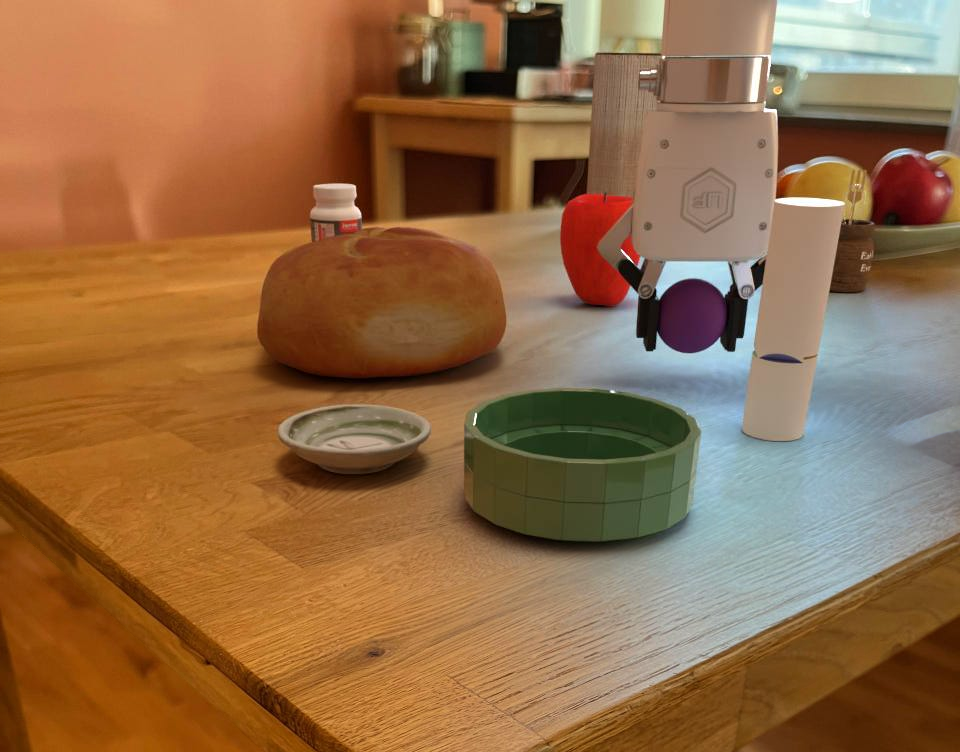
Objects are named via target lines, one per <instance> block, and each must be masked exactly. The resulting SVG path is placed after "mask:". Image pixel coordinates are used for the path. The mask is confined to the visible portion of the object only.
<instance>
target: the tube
mask: <svg viewBox="0 0 960 752" xmlns="http://www.w3.org/2000/svg"><path fill="white" fill-rule="evenodd" d="M845 206H846V205H845V202H844V201H843V202H842V200H841V201H840V200H836V199H828V198H818V197H781V198H780V197H779V198H776V200H775V202H774V209H773V216H772V222H771V229H770V236H769V243H768V250H767V253H766V255H767V257H766V263H765V270H764V277H763V284H762V285H761V286H762V287H761V292H760V297H759V306H758V312H757V318H756V327H755V332H754V338H753V339H754V340H753V348H754V350H753V351H752V354H751V360H750V367H749V374H748V380H747V387H746V394H745V401H744V409H743V414H742V422H741V431H742V432H743V433H744V434H745V435H747V436H749V437H752V438H755V439H758V440H763V441H771V442H790V441H796V440H798V439H801V438H803V436H804V434H805V429H806V423H807V419H808V412H809V406H810V402H811V401H810V400H811V396H812V390H813V384H814V378H815V373H816V368H817V367H816V366H817V361H818V355H819V351H820V350H819V349H820V344H821V339H822V334H823V328H824V322H825V317H826V311H827V306H828V300H829V296H830V295H829V294H830V291H829V290H830V284H831V278H832V273H833V267H834V261H835V256H836V250H837V244H838V239H839V233H840V227H841V222H842V219H843V217H844V207H845Z"/></svg>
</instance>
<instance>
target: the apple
mask: <svg viewBox="0 0 960 752" xmlns="http://www.w3.org/2000/svg"><path fill="white" fill-rule="evenodd" d="M632 201H633V198H631V197H621V196H611V195H607V193H604V195H602V194H587V193H584V194H580V195H578V196H576V197H574V198H572V199H571V200H569V201H568V202H567V204H566V205H565V208H564V210H563V211H562V214H561V220H560V221H561V222H560V236H559V243H560V253H561V258H562V263H563V267H564V269H565V271H566V274H567V277H568V280H569V282H570V284H571V287H572V289H573V291H574V294H575V295H576V296H577V297H578V298H579V299H580V300H581V301H582V302H584V303H586V304H589V305H593V306H604V307H615V306H617V305H619V304H621V303H622V302H624V300H625V298H626V297H627V295H628V293H629V290H630V288H631V286H630V284H629V283H628V282H627V281H626V280H625V279H624V278H623V277H622V276H621V274H620V273H619V272H618V271H617V270H616V269H615V268H614V267H613V266H612V265H611V264H610V263H609V262H608V261H607V260H606V259H605V258H603V257H602V256H601V255H600V253H599V252H598V248H597V245H598V243H599V241H600V240H601V239H602V238H603V237H604V236H605V234H606V233H607V232H608V231H609V230H610V229H611V228H612V227H613V225H614V224H615V223H616V222H617V221H618V220H619V219H620V218H621V216H622V215H623V214H624V213H625V212H626V211H627V210H628V209H629V207H630V206H631V205H632ZM621 250H622V251H623V252H624V253H625V254H626V255H627V256H628V257H629V258H630V259H631V260H632V261H633V262H634V263H635V264H636V266H637V267H638V268H639V263H640V259H641V258H642V257H641V256H640V255H639V254H637V252H636V251H635V250H634V247H633V244H632V241H631V234H630V235H629V236H628V237H627V238H626V240H625V241H624V242H623V243H622V245H621Z"/></svg>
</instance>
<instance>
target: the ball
mask: <svg viewBox="0 0 960 752" xmlns="http://www.w3.org/2000/svg"><path fill="white" fill-rule="evenodd" d="M658 299H659V315H658V328H657V336H659V338H660V339H661V341H662V342H663V343H664V345H666V346H667V347H668V348H670V349H671V350H673V351H675V352H678V353H681V354H697V353H700V352H704V351H705V350H707V349H709V348H711V347H712V346H713V345H714V344H715V343H717V342H718V340H720V337H721V335H722V333H723V332H724V329H725V327H726V324H727V318H728V308H727V303H726V300H725V295H724V294H723V293H722V291H721V289H719V288H718V287H717V286H716V285H715V284H713V282H710V281H708V280H706V279H702V278H697V277H694V278H693V277H691V278H690V277H689V278H684V279H681V280H679V281H676V282H674V283H673V284H672V285H670V286H668V288H667V289H666V290H665V291H663V293H662V294H661V296H660V298H658Z"/></svg>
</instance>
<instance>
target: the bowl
mask: <svg viewBox="0 0 960 752" xmlns="http://www.w3.org/2000/svg"><path fill="white" fill-rule="evenodd" d="M701 438H702V429H701V427H700V425H699V423H698V420H697V419H696V418H695V417H694V416H692V415H691V414H690V413H688V412H687V411H685V410H684V409H682V408H681V407H679V406H677V405H673V404H671V403H668V402H666V401H662V400H660V399H657V398H654V397H649V396H644V395H640V394H635V393H632V392H626V391H620V390H619V391H618V390H610V389H602V388H583V387H582V388H581V387H580V388H579V387H553V388H537V389H527V390H522V391H516V392H510V393H506V394H501V395H498V396H495V397H492V398H490V399H486V400H484V401H482V402H479V403H478V404H476V405H475V406H474V407H473V408H471V409H470V410H468V412H467V413H466V414H465V419H464V425H463V497H464V499H465V501H466V503H468V505H469V507H470V509H472V511H473V512H474V513H476V514H478V516H480V517H482V518H484V519H485V520H487V521H489V522H491V523H492V524H494V525H495V526H499V527H501V528H505V529H507V530H510V531H513V532H517V533H519V534H522V535H527V536H533V537H539V538H542V539H549V540H554V541H555V540H556V541H563V542H564V541H565V542H574V543H575V542H577V543H578V542H580V543H596V542H597V543H598V542H611V541H618V540H627V539H635V538H641V537H644V536H645V537H646V536H648V535H652V534H656V533H659V532H662V531H665V530H668V529H670V528H671V527H673V526H674V525H676V524H678V523H679V522H681V521H682V520H684V519H685V518H686V517H687V515H688V513H689V512H690V509H691V508H692V505H693V501H694V494H695V493H694V492H695V486H696V478H697V470H698V469H697V468H698V462H699V454H700V447H701Z"/></svg>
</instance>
